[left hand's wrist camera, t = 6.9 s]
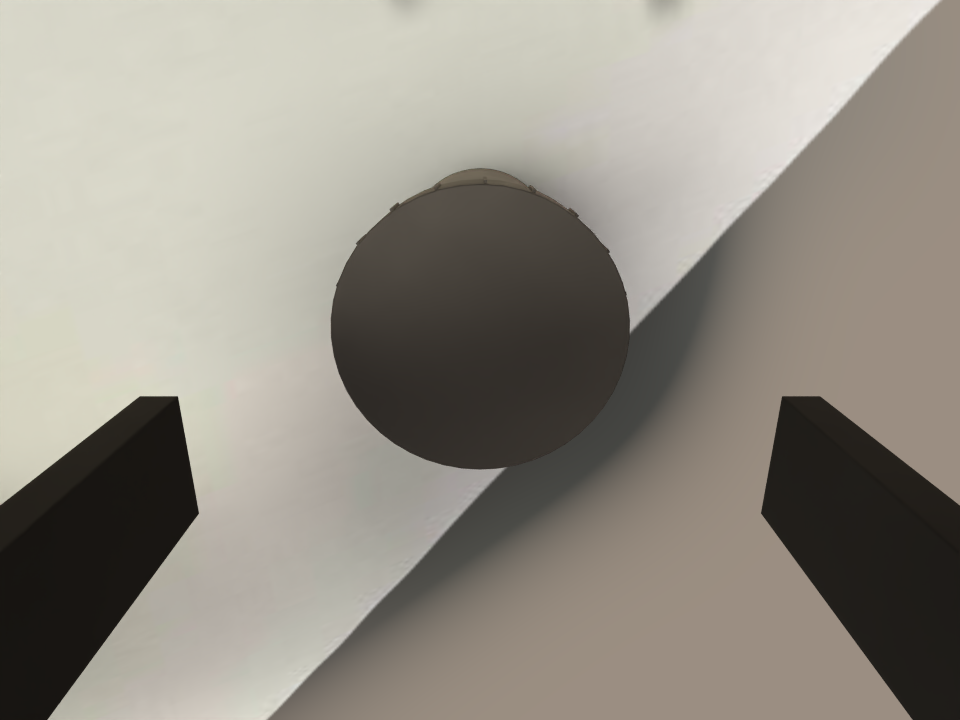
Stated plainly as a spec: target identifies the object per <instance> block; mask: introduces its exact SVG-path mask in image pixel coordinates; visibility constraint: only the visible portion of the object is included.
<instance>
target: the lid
mask: <svg viewBox="0 0 960 720" xmlns="http://www.w3.org/2000/svg"><path fill="white" fill-rule="evenodd" d="M578 216H579V215H578V214H577V213H575V212H574V211H573V210H572V209H571V208H570V209H569V210H568V209H566V208H565V207H564V206H562V205H561V204H559V203H558V202H557V201H555V200H554V199H552V198H550V197H548V196H546V195H544V194H542V193H540V192H538V191H536V190H535V188H534V187H533V186H529V188H528V187H525V186H522V185H519V184H515V183H510V182H505V181H501V180H488V179H487V177H483V179H473V180H460V181H455V182H450V183H445V184H440V182H439V183H437V184H436V185H435V186H434V187H433V188H430V189H427V190H424V191H422V192H420V193H419V194H417V195H415V196H413V197H411V198H409V199H407V200H406V201H404V202H403V203H401V204H400V205H399V203H396V204H395V205H394V206H393V207H392V208H391V209H390V212H389V213H388V214H387V215H386V216H385V217H384V218H383V219H382V220H381V221H379V222H378V223H377V224H376V225H375V226H374V227H373V228H372V229H371V230H370V231H369V232H368V233H367V234H365V235H364V236H363V237H362V238H361V239H360V240H359V241H358V242H357V243H356V244H357V246H356V248H355V250H354V251H353V253H352V255H351V256H350V258H349V260H348V261H347V263H346V265H345V267H344V270H343V272H342V274H341V276H340V279H339V281H338V283H337V285H336V286H337V288H336V292H335V296H334V299H333V306H332V314H331V340H332V346H333V353H334V358H335V361H336V365H337V368H338V372H339V375H340V377H341V379H342V381H343V384H344V386H345V388H346V390H347V392H348V394H349V395H350V397H351V399H352V400H353V402H354V404H355V405H356V407H357V408H358V409H359V410H360V412H361V413H362V414H363V415H364V417H365V418H366V419H367V420H368V421H369V422H370V423H371V424H372V425H373V426H374V427H375V428H376V429H377V430H378V431H379V432H380V433H381V434H383V435H384V436H385V437H387V438H388V439H389V440H390V441H392V442H393V443H394V444H396V445H398V446H400V447H401V448H403V449H405V450H406V451H408V452H410V453H412V454H414V455H417V456H419V457H421V458H423V459H426V460H429V461H432V462H435V463H439V464H442V465H446V466H452V467H457V468H465V469H496V468H503V467H509V466H515V465H518V464H522V463H525V462H529V461H532V460H535V459H537V458H539V457H542V456H544V455H546V454H549V453H551V452H552V451H554V450H556V449H558V448H559V447H561V446H563V445H565V444H566V443H567V442H569V441H570V440H571V439H573V438H574V437H575V436H577V435H578V434H579V433H580V432H581V431H583V430H584V429H585V428H586V427H587V426H588V425H589V424H590V423H591V422H592V421H593V420H594V418H595V417H596V416H597V415H598V414H599V412H600V411H601V410H602V409H603V407H604V406H605V404H606V403H607V401H608V400H609V398H610V396H611V395H612V393H613V391H614V389H615V387H616V385H617V383H618V380H619V378H620V376H621V373H622V370H623V367H624V363H625V360H626V357H627V350H628V344H629V332H630V318H629V309H628V301H627V297H626V292H625V290H624V286H623V282H622V280H621V277H620V275H619V273H618V270H617V268H616V265H615V264H614V262H613V260H612V258H611V257H610V255H609V252H610V251H609V250H608V249H607V248H606V247H605V246H604V245H603V244H602V243H601V242H600V241H599V239H598V238H597V237H596V236H595V234H594V233H593V232H592V231H591V230H590V229H589V228H588V227H587V226H586V225H585V224H583V223H582V222H581V221H580V220H579V219H578V218H577V217H578Z"/></svg>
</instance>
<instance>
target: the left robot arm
mask: <svg viewBox="0 0 960 720" xmlns="http://www.w3.org/2000/svg"><path fill="white" fill-rule="evenodd" d="M198 514H199V511H198V506H197V500H196V494H195V489H194V483H193V478H192V472H191V467H190V461H189V456H188V450H187V445H186V439H185V433H184V428H183V422H182V417H181V411H180V406H179V400H178V396H140V397H139V398H137V399H136V400H135V401H133V402H132V403H131V404H130V405H128V406H127V407H126V408H124V409H123V410H122V411H121V412H119V413H118V414H117V415H116V416H114V417H113V418H112V419H110V420H109V421H108V422H107V423H105V424H104V425H103V426H101V427H100V428H99V429H98V430H96V431H95V432H94V433H92V434H91V435H90V436H89V437H87V438H86V439H85V440H84V441H82V442H81V443H80V444H78V445H77V446H76V447H75V448H73V449H72V450H71V451H69V452H68V453H67V454H66V455H64V456H63V457H62V458H60V459H59V460H58V461H57V462H55V463H54V464H53V465H52V466H50V467H49V468H48V469H46V470H45V471H44V472H43V473H41V474H40V475H39V476H37V477H36V478H35V479H34V480H32V481H31V482H30V483H28V484H27V485H26V486H25V487H23V488H22V489H21V490H20V491H18V492H17V493H16V494H14V495H13V496H12V497H11V498H9V499H8V500H7V501H5V502H4V503H3V504H2V505H0V720H47V719H48V718H49V717H50V715H51V714H52V713H53V711H54V710H55V709H56V707H57V706H58V704H59V703H60V702H61V700H62V699H63V698H64V696H65V695H66V694H67V692H68V691H69V690H70V688H71V687H72V685H73V684H74V683H75V681H76V680H77V679H78V677H79V676H80V675H81V673H82V672H83V670H84V669H85V668H86V666H87V665H88V664H89V662H90V661H91V660H92V658H93V657H94V655H95V654H96V653H97V651H98V650H99V649H100V647H101V646H102V645H103V643H104V642H105V640H106V639H107V638H108V636H109V635H110V634H111V632H112V631H113V630H114V628H115V627H116V626H117V624H118V623H119V621H120V620H121V619H122V617H123V616H124V615H125V613H126V612H127V611H128V609H129V608H130V606H131V605H132V604H133V602H134V601H135V600H136V598H137V597H138V596H139V594H140V593H141V591H142V590H143V589H144V587H145V586H146V585H147V583H148V582H149V581H150V579H151V578H152V577H153V575H154V574H155V572H156V571H157V570H158V568H159V567H160V566H161V564H162V563H163V562H164V560H165V559H166V557H167V556H168V555H169V553H170V552H171V551H172V549H173V548H174V547H175V545H176V544H177V542H178V541H179V540H180V538H181V537H182V536H183V534H184V533H185V532H186V530H187V529H188V528H189V526H190V525H191V523H192V522H193V521H194V519H195V518H196V517H197V515H198ZM761 514H762V515H763V517H764V518H765V519H766V521H767V522H768V523H769V525H770V526H771V528H772V529H773V530H774V532H775V533H776V534H777V536H778V537H779V538H780V540H781V541H782V542H783V544H784V545H785V547H786V548H787V549H788V551H789V552H790V553H791V555H792V556H793V557H794V559H795V560H796V561H797V563H798V564H799V566H800V567H801V568H802V570H803V571H804V572H805V574H806V575H807V576H808V578H809V579H810V581H811V582H812V583H813V585H814V586H815V587H816V589H817V590H818V591H819V593H820V594H821V596H822V597H823V598H824V600H825V601H826V602H827V604H828V605H829V606H830V608H831V609H832V610H833V612H834V613H835V615H836V616H837V617H838V619H839V620H840V621H841V623H842V624H843V626H844V627H845V628H846V630H847V631H848V632H849V634H850V635H851V636H852V638H853V639H854V640H855V642H856V643H857V645H858V646H859V647H860V649H861V650H862V651H863V653H864V654H865V655H866V657H867V658H868V660H869V661H870V662H871V664H872V665H873V666H874V668H875V669H876V670H877V672H878V673H879V674H880V676H881V677H882V679H883V680H884V681H885V683H886V684H887V685H888V687H889V688H890V689H891V691H892V692H893V694H894V695H895V696H896V698H897V699H898V700H899V702H900V703H901V704H902V706H903V707H904V709H905V710H906V711H907V713H908V714H909V715H910V717H911V718H912V719H913V720H960V505H958V504H957V503H956V502H955V501H953V500H952V499H951V498H949V497H948V496H947V495H946V494H944V493H943V492H942V491H940V490H939V489H938V488H937V487H935V486H934V485H933V484H931V483H930V482H929V481H928V480H926V479H925V478H924V477H923V476H921V475H920V474H919V473H917V472H916V471H915V470H914V469H912V468H911V467H910V466H908V465H907V464H906V463H905V462H903V461H902V460H901V459H900V458H898V457H897V456H896V455H894V454H893V453H892V452H891V451H889V450H888V449H887V448H885V447H884V446H883V445H882V444H880V443H879V442H878V441H876V440H875V439H874V438H873V437H871V436H870V435H869V434H867V433H866V432H865V431H864V430H862V429H861V428H860V427H859V426H857V425H856V424H855V423H853V422H852V421H851V420H850V419H848V418H847V417H846V416H844V415H843V414H842V413H841V412H839V411H838V410H837V409H836V408H834V407H833V406H832V405H830V404H829V403H828V402H827V401H825V400H824V399H823V398H821V397H819V396H783V397H782V400H781V406H780V411H779V417H778V422H777V428H776V433H775V439H774V445H773V450H772V456H771V461H770V467H769V472H768V478H767V483H766V489H765V494H764V500H763V506H762V511H761Z"/></svg>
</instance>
